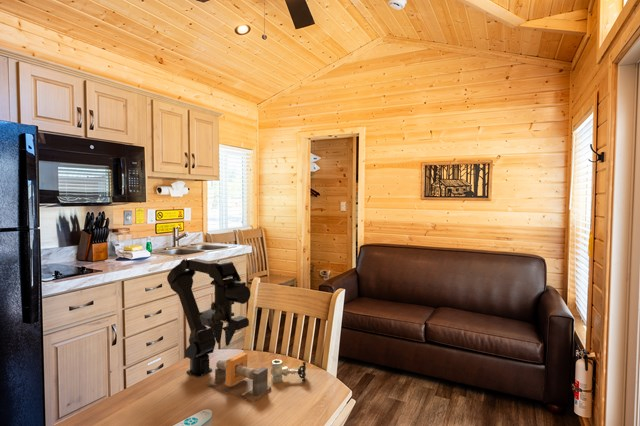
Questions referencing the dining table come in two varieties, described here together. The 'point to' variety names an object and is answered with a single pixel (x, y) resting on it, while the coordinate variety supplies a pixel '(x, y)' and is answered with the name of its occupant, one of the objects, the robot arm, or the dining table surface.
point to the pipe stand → (242, 381)
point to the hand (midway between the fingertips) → (222, 344)
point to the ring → (230, 369)
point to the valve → (285, 371)
